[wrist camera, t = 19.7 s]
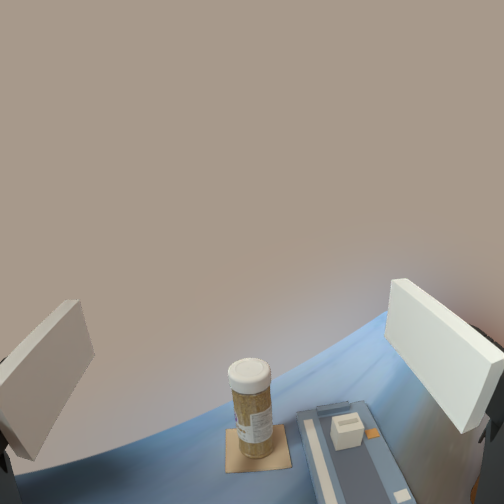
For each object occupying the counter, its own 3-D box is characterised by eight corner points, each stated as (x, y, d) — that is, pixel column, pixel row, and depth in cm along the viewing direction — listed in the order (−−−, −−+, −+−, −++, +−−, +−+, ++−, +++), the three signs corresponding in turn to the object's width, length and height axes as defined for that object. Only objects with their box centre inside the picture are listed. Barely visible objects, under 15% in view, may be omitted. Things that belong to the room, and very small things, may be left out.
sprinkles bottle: (233, 442, 37) (220, 363, 33) (264, 431, 38) (258, 352, 35) (248, 465, 32) (237, 385, 29) (281, 452, 34) (278, 371, 31)
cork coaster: (225, 473, 32) (225, 471, 31) (226, 430, 39) (225, 428, 39) (291, 467, 32) (291, 466, 32) (283, 425, 40) (283, 424, 39)
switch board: (328, 551, 19) (331, 543, 19) (296, 419, 41) (296, 407, 40) (419, 523, 20) (426, 514, 19) (362, 407, 41) (364, 395, 40)
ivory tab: (335, 450, 32) (338, 432, 31) (330, 434, 35) (332, 415, 34) (360, 445, 32) (364, 426, 31) (353, 429, 35) (357, 410, 34)
